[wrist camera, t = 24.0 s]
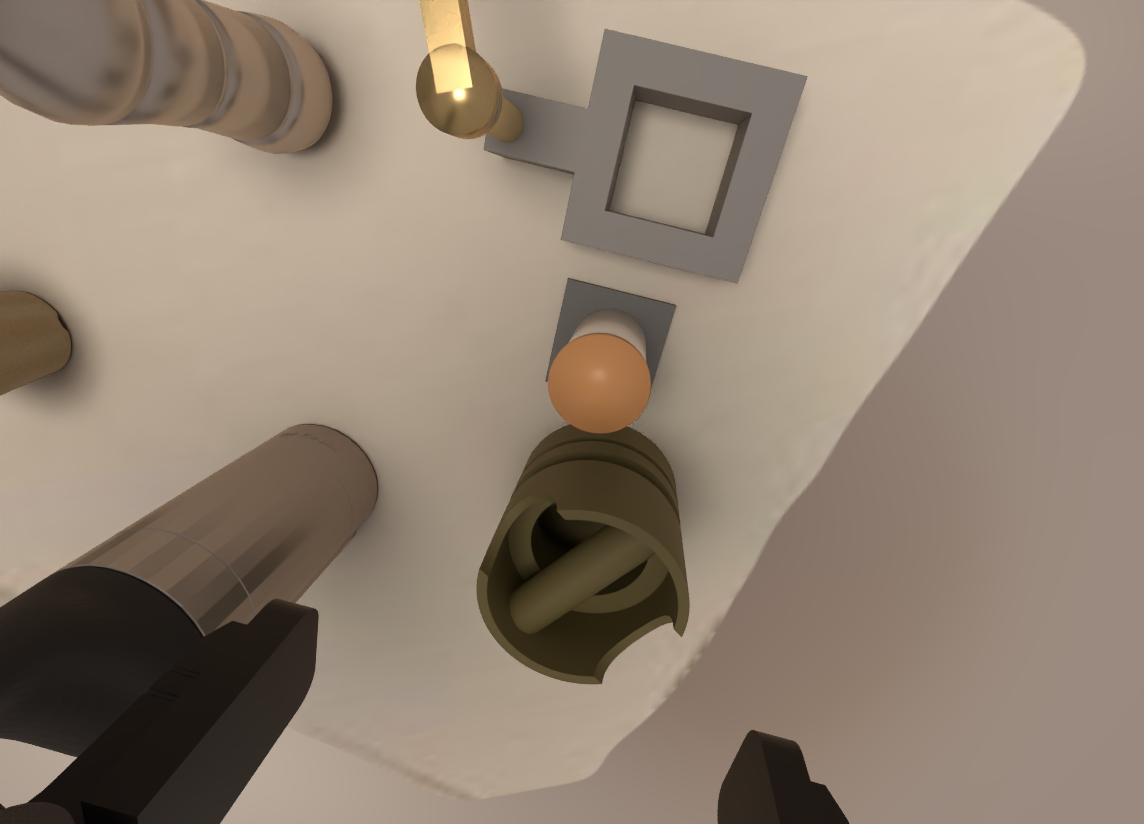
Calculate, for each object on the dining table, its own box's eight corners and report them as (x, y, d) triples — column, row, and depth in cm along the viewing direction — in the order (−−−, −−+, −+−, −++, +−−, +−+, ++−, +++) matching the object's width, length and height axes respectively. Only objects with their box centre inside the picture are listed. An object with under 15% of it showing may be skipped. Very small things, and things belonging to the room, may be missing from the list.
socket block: (726, 275, 33) (762, 303, 23) (492, 217, 34) (430, 220, 24) (786, 93, 29) (859, 35, 20) (522, 30, 30) (463, -57, 20)
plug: (658, 316, 34) (663, 350, 26) (637, 391, 36) (635, 444, 28) (579, 296, 34) (559, 324, 26) (562, 372, 36) (539, 419, 28)
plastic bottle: (353, 48, 31) (-70, -187, 13) (340, 171, 34) (-29, 126, 15) (248, 16, 31) (-326, -263, 13) (243, 142, 34) (-242, 61, 15)
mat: (645, 404, 37) (645, 406, 36) (546, 379, 37) (545, 381, 37) (675, 305, 34) (675, 306, 34) (568, 278, 34) (567, 279, 34)
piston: (434, 585, 29) (588, 467, 26) (491, 481, 40) (604, 389, 37) (574, 713, 31) (734, 620, 28) (592, 580, 42) (708, 502, 39)
